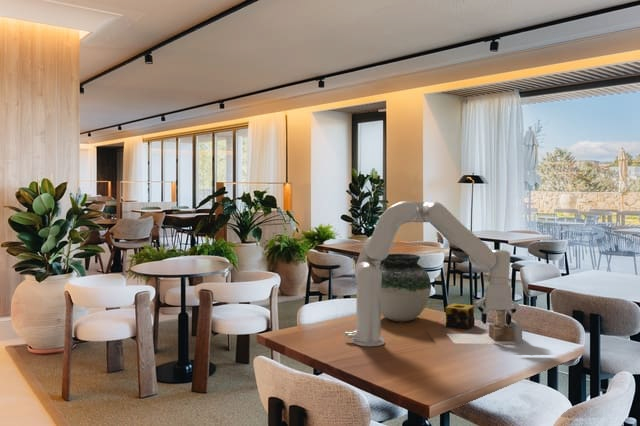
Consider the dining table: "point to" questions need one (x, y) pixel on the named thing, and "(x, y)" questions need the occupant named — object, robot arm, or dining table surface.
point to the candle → (460, 316)
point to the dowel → (500, 318)
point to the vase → (403, 287)
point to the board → (487, 337)
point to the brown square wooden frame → (501, 333)
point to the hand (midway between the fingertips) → (495, 323)
